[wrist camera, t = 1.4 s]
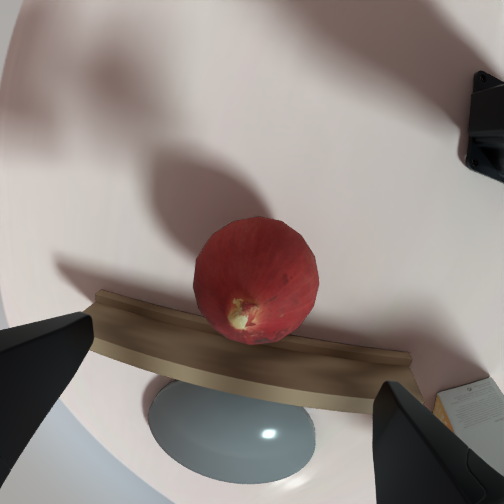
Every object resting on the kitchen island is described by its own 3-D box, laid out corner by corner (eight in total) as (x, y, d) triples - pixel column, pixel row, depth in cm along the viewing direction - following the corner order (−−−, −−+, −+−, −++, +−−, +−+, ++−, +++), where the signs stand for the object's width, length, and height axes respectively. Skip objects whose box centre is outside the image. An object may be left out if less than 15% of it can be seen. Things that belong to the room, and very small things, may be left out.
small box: (436, 390, 20) (479, 495, 10) (492, 374, 19) (546, 462, 9) (419, 449, 22) (441, 539, 12) (469, 435, 21) (500, 516, 11)
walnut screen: (409, 352, 19) (428, 394, 15) (396, 379, 20) (411, 422, 15) (101, 289, 21) (64, 317, 16) (102, 318, 21) (69, 348, 17)
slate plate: (338, 392, 20) (339, 401, 20) (292, 485, 25) (291, 492, 24) (149, 352, 22) (144, 359, 21) (156, 454, 26) (152, 461, 25)
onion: (321, 294, 19) (331, 381, 11) (228, 307, 20) (189, 392, 12) (305, 198, 17) (312, 230, 9) (205, 216, 18) (142, 260, 11)
